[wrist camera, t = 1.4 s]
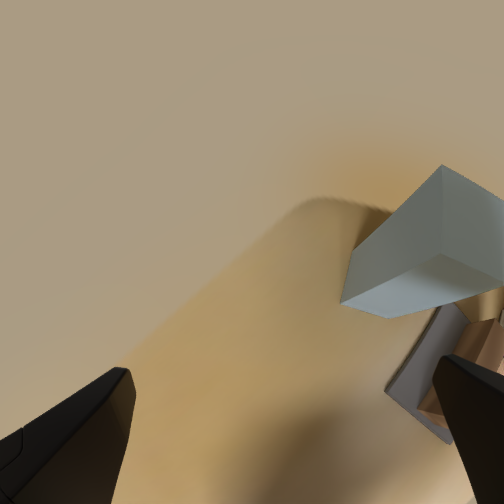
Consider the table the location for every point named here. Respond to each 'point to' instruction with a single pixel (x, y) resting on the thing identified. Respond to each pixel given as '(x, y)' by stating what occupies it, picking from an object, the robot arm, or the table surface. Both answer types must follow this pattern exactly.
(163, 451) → the table surface
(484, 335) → the ridge
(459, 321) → the mat
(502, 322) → the candy bar box
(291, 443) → the table surface
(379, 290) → the block
